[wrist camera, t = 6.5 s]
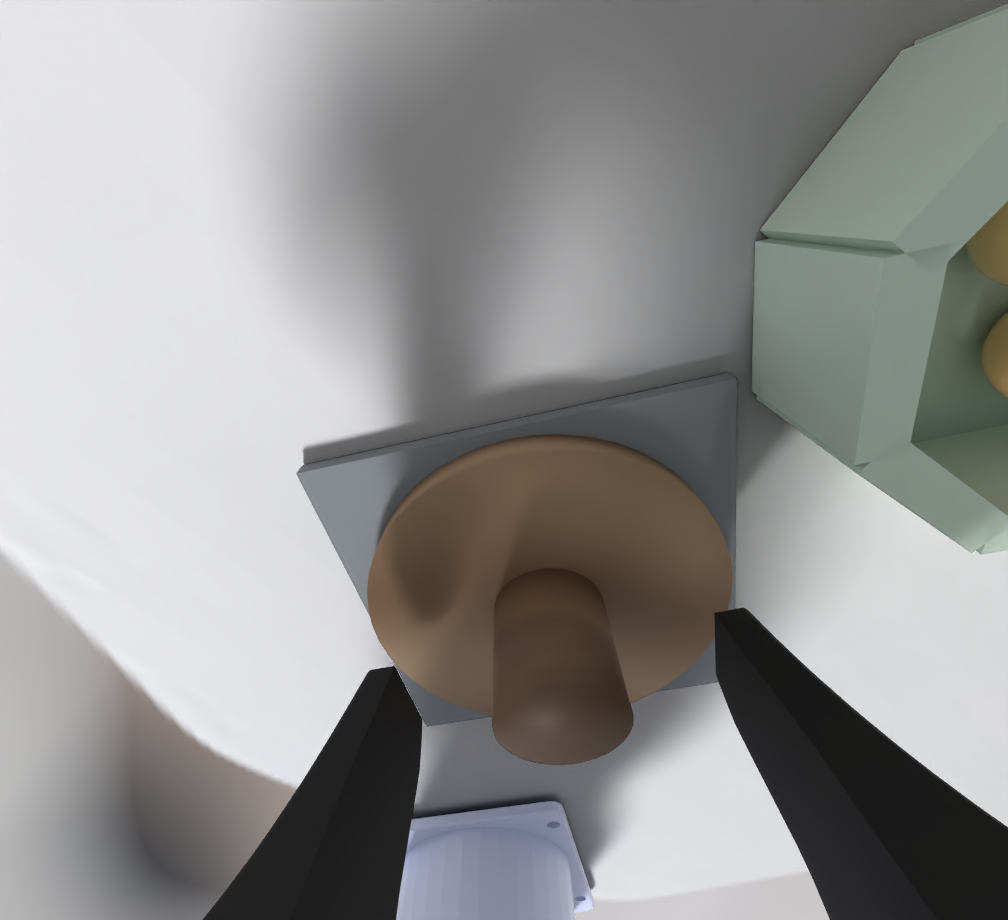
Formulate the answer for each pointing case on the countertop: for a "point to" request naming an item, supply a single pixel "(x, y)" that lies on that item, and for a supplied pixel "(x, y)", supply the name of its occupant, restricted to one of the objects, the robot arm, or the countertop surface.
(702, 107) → the countertop surface
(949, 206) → the bowl
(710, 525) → the lid
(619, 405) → the mat
